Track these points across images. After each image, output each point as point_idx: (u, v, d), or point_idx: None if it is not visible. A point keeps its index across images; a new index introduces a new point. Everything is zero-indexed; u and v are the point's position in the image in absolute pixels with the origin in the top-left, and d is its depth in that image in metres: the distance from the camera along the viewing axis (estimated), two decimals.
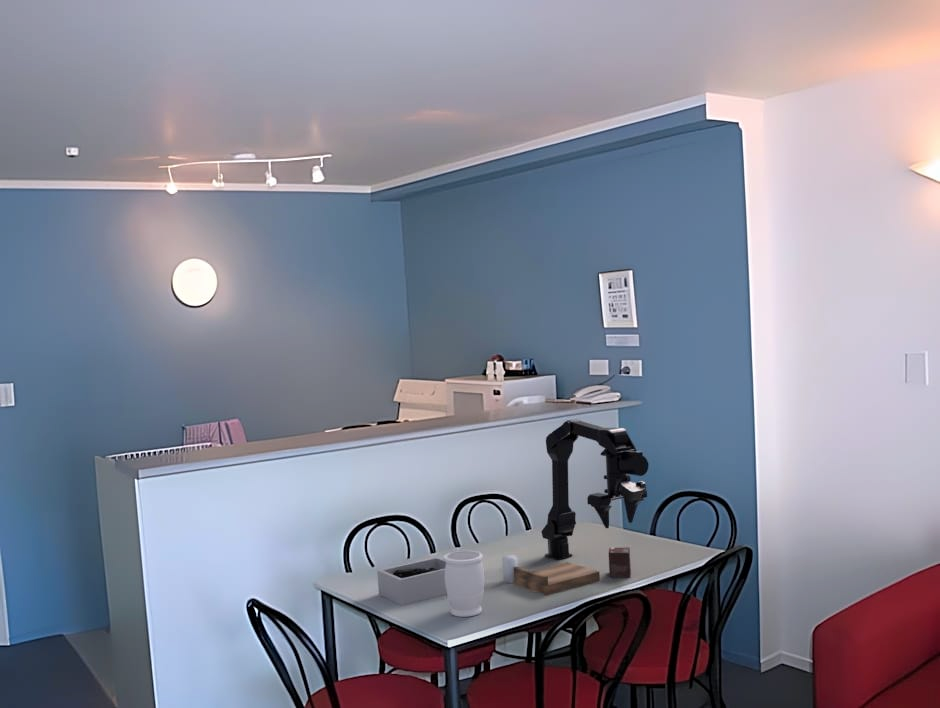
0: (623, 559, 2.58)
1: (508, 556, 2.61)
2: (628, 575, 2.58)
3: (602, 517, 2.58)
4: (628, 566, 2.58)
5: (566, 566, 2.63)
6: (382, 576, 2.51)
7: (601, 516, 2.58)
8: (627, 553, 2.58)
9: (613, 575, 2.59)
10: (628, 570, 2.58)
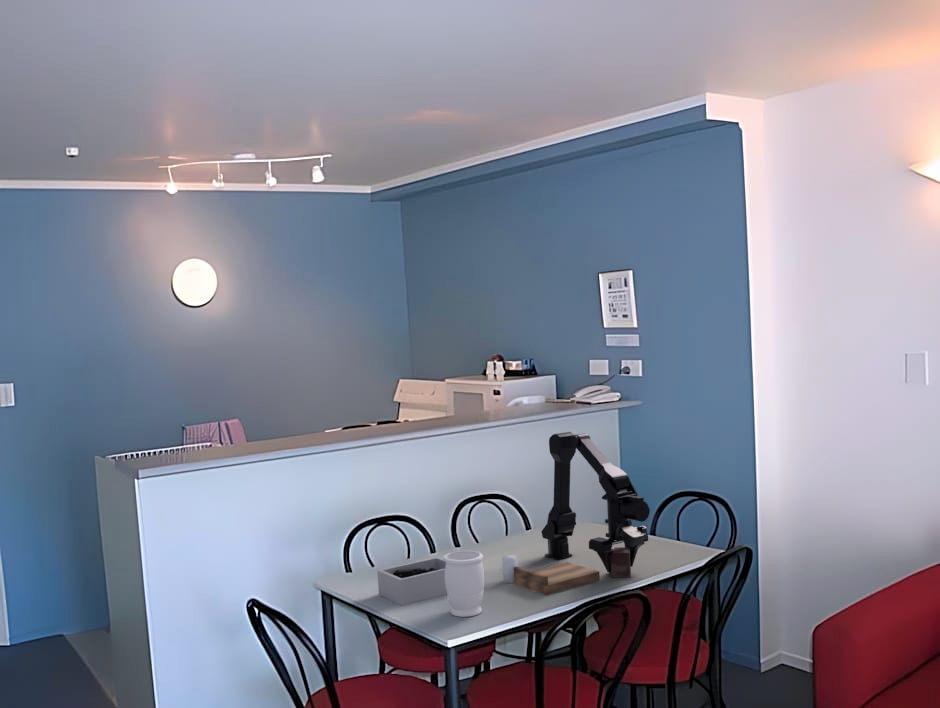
0: (623, 558, 2.58)
1: (508, 556, 2.61)
2: (628, 575, 2.58)
3: (604, 561, 2.58)
4: (628, 566, 2.58)
5: (566, 566, 2.63)
6: (382, 576, 2.51)
7: (603, 560, 2.59)
8: (627, 553, 2.58)
9: (613, 575, 2.59)
10: (628, 570, 2.58)
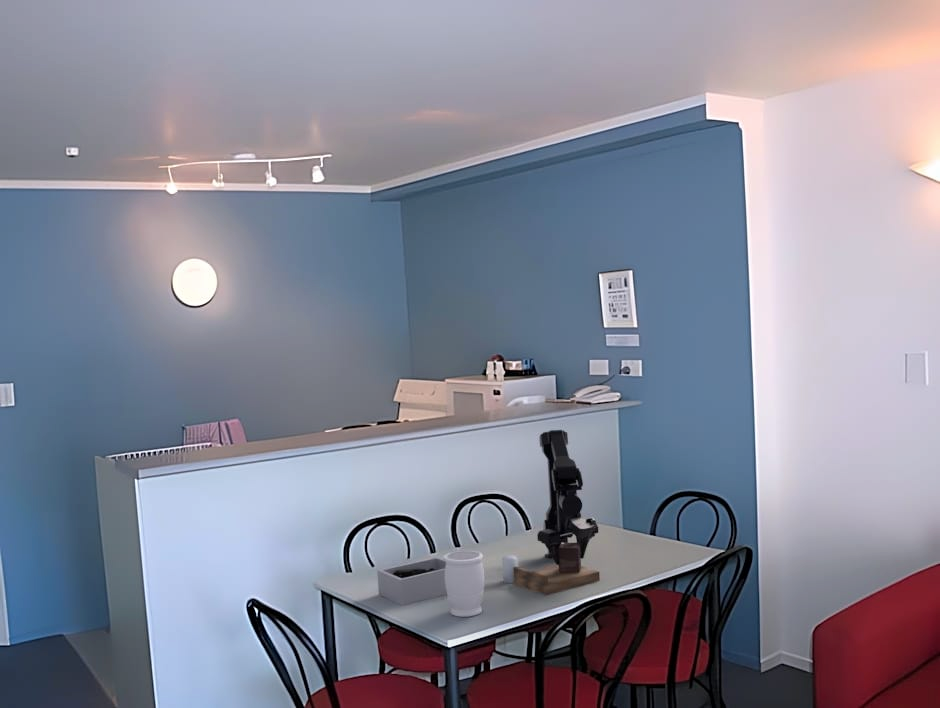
0: (572, 554, 2.56)
1: (508, 556, 2.61)
2: (577, 570, 2.56)
3: (552, 553, 2.57)
4: (577, 561, 2.56)
5: None
6: (382, 576, 2.51)
7: (551, 552, 2.57)
8: (576, 548, 2.56)
9: (562, 570, 2.57)
10: (577, 565, 2.56)
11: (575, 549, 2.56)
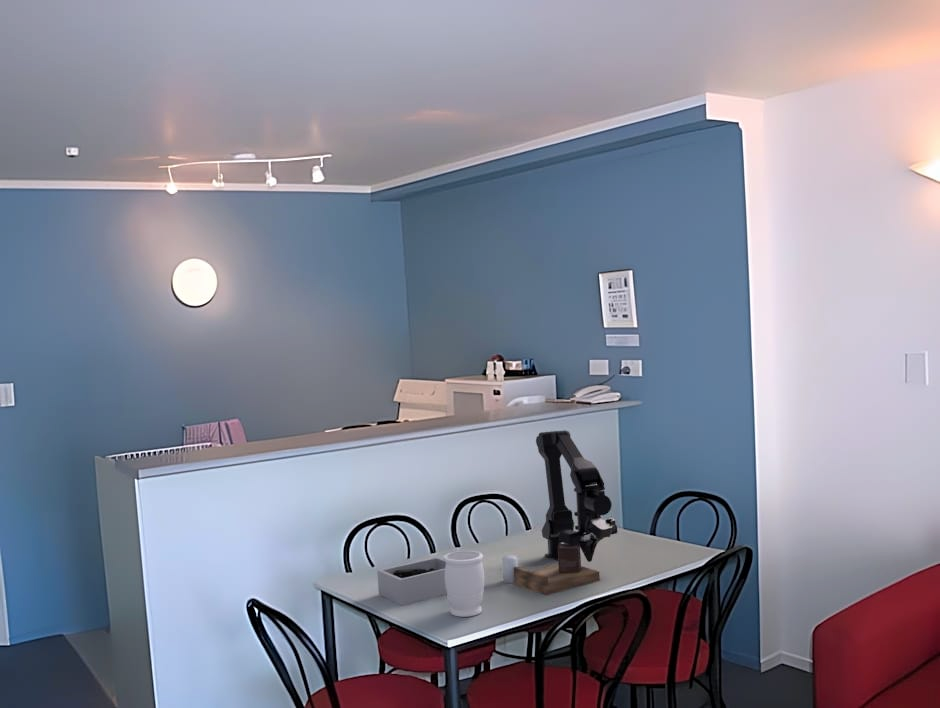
0: (572, 554, 2.56)
1: (508, 556, 2.61)
2: (577, 570, 2.56)
3: (584, 551, 2.63)
4: (577, 561, 2.56)
5: None
6: (382, 576, 2.51)
7: (583, 550, 2.64)
8: (576, 548, 2.56)
9: (562, 570, 2.57)
10: (577, 565, 2.56)
11: (575, 549, 2.56)
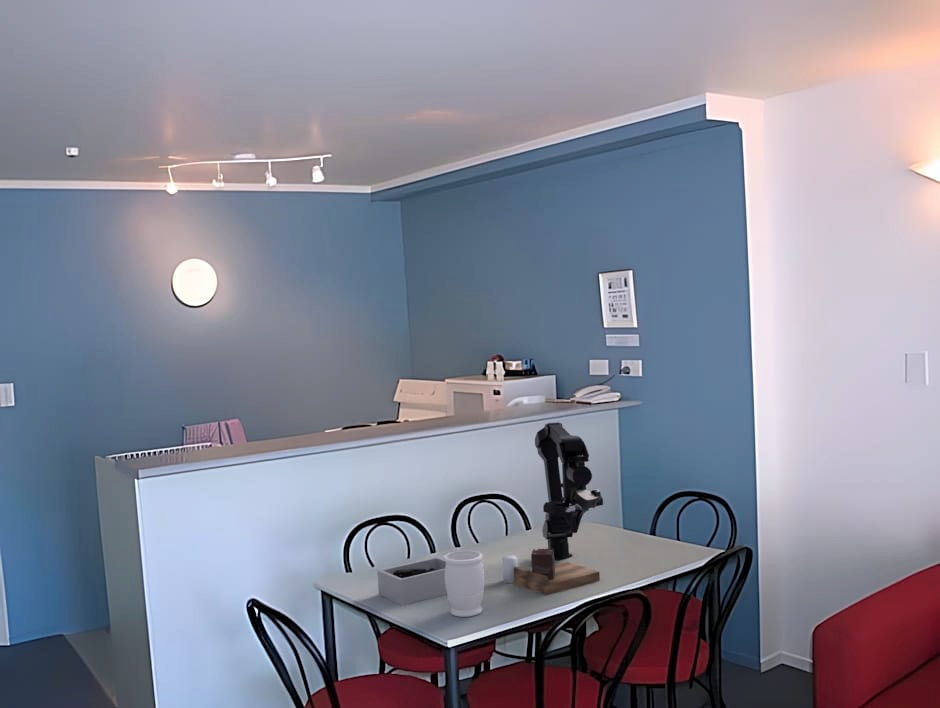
0: (545, 560, 2.51)
1: (508, 556, 2.61)
2: (551, 577, 2.51)
3: (569, 522, 2.64)
4: (551, 568, 2.51)
5: (566, 566, 2.63)
6: (382, 576, 2.51)
7: (568, 521, 2.64)
8: (550, 554, 2.51)
9: None
10: (551, 572, 2.51)
11: (549, 555, 2.51)
